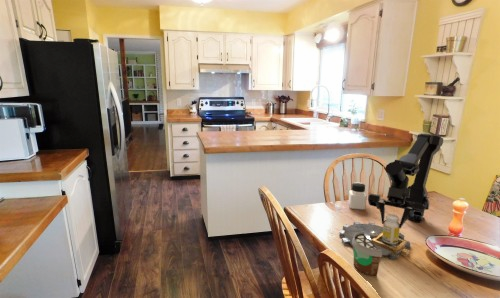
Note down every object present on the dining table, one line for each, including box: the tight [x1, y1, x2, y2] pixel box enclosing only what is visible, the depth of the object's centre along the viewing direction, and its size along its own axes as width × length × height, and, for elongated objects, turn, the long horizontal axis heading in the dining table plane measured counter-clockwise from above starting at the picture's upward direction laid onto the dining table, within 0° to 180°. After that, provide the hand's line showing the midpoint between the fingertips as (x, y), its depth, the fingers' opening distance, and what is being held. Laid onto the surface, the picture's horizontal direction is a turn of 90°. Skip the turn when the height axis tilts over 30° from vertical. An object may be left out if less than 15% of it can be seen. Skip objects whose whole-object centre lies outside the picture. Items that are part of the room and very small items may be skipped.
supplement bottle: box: [382, 213, 401, 244], centre depth 105 cm, size 5×5×10 cm
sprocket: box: [339, 221, 411, 261], centre depth 110 cm, size 25×25×4 cm
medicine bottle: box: [348, 182, 368, 211], centre depth 141 cm, size 7×7×12 cm
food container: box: [352, 232, 383, 278], centre depth 93 cm, size 12×6×10 cm, turn 5°
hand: (391, 225), depth 103 cm, fingers closed on supplement bottle, 5 cm apart
